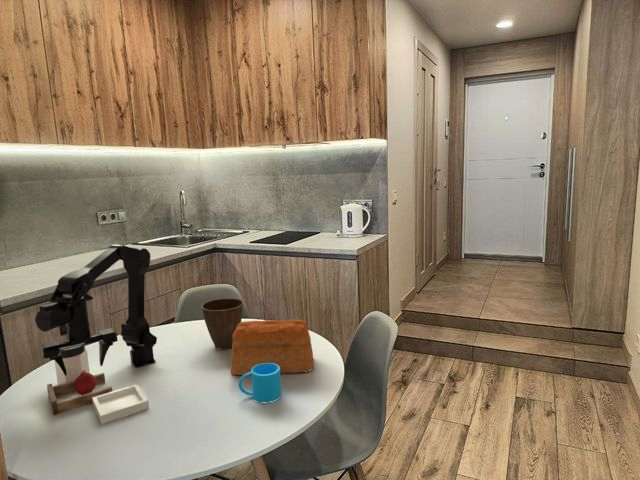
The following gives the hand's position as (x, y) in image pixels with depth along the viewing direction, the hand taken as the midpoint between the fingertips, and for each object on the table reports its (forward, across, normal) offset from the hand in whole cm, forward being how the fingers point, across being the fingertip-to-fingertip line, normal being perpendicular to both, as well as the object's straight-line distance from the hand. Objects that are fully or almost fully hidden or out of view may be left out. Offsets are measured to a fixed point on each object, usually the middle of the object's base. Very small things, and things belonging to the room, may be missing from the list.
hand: (83, 370), depth 126 cm
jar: (+8, +2, -13) cm, 15 cm away
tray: (+8, -6, +13) cm, 17 cm away
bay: (+8, +2, 0) cm, 8 cm away
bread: (+8, -52, +19) cm, 56 cm away
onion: (+8, 0, 0) cm, 8 cm away
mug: (+8, -39, +33) cm, 52 cm away
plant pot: (+8, -47, -8) cm, 49 cm away
